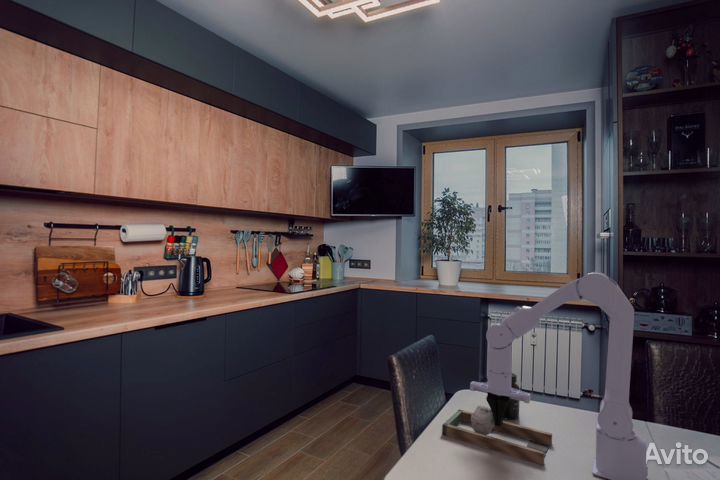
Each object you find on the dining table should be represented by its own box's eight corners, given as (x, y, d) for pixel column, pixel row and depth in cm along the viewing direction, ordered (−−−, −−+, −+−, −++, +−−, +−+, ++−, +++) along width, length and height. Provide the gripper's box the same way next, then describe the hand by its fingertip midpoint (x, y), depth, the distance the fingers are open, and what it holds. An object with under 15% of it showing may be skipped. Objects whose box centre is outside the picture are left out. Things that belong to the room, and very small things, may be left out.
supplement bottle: (521, 421, 112) (522, 379, 113) (496, 418, 114) (497, 376, 114) (516, 412, 119) (517, 371, 119) (493, 409, 120) (494, 369, 121)
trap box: (551, 443, 100) (552, 433, 100) (543, 465, 90) (543, 454, 90) (458, 418, 113) (459, 409, 113) (442, 434, 103) (442, 424, 103)
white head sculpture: (495, 432, 105) (498, 406, 105) (490, 443, 99) (493, 416, 99) (472, 425, 108) (475, 399, 108) (465, 435, 102) (468, 408, 102)
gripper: (533, 372, 101) (532, 426, 101) (476, 362, 109) (475, 411, 109) (527, 379, 95) (526, 437, 95) (467, 368, 103) (466, 420, 103)
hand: (498, 424), depth 101 cm, fingers closed
